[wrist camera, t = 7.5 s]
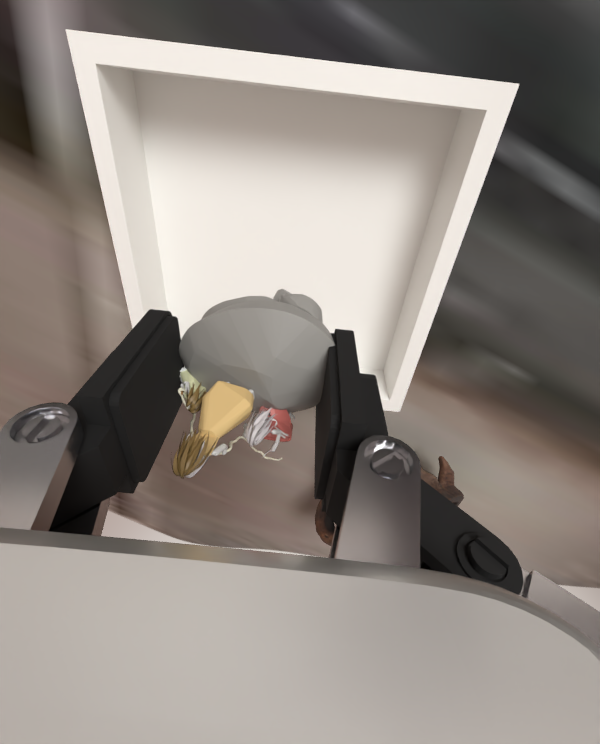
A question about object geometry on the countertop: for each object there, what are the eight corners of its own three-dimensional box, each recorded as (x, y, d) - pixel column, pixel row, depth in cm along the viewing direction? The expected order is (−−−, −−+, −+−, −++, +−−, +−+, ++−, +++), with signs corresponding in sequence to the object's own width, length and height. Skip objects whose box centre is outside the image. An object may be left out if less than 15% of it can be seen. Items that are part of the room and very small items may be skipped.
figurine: (322, 250, 10) (270, 411, 5) (362, 369, 12) (349, 544, 8) (172, 295, 12) (42, 441, 7) (233, 389, 14) (165, 539, 10)
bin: (478, 89, 15) (519, 84, 12) (389, 372, 25) (399, 411, 21) (120, 46, 15) (65, 29, 12) (168, 348, 24) (144, 384, 21)
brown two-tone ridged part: (381, 391, 26) (459, 485, 21) (420, 419, 34) (484, 495, 29) (272, 486, 29) (318, 589, 24) (329, 493, 36) (373, 574, 31)
